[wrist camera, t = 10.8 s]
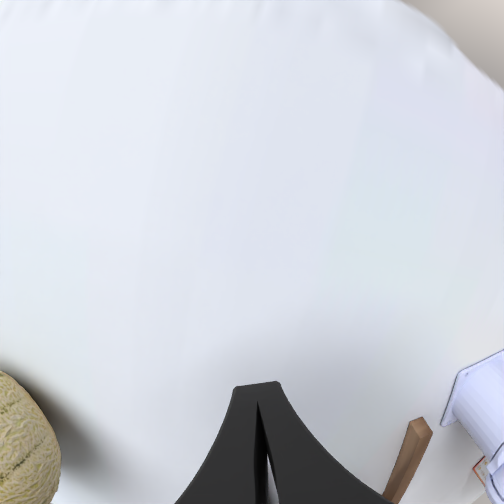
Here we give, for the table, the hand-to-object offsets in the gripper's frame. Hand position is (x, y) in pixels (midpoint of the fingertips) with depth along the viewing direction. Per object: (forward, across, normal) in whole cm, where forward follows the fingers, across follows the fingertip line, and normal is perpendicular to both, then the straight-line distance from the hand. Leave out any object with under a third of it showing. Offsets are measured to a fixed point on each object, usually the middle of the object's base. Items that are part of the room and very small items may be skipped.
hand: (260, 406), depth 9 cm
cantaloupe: (+10, +24, +9) cm, 28 cm away
